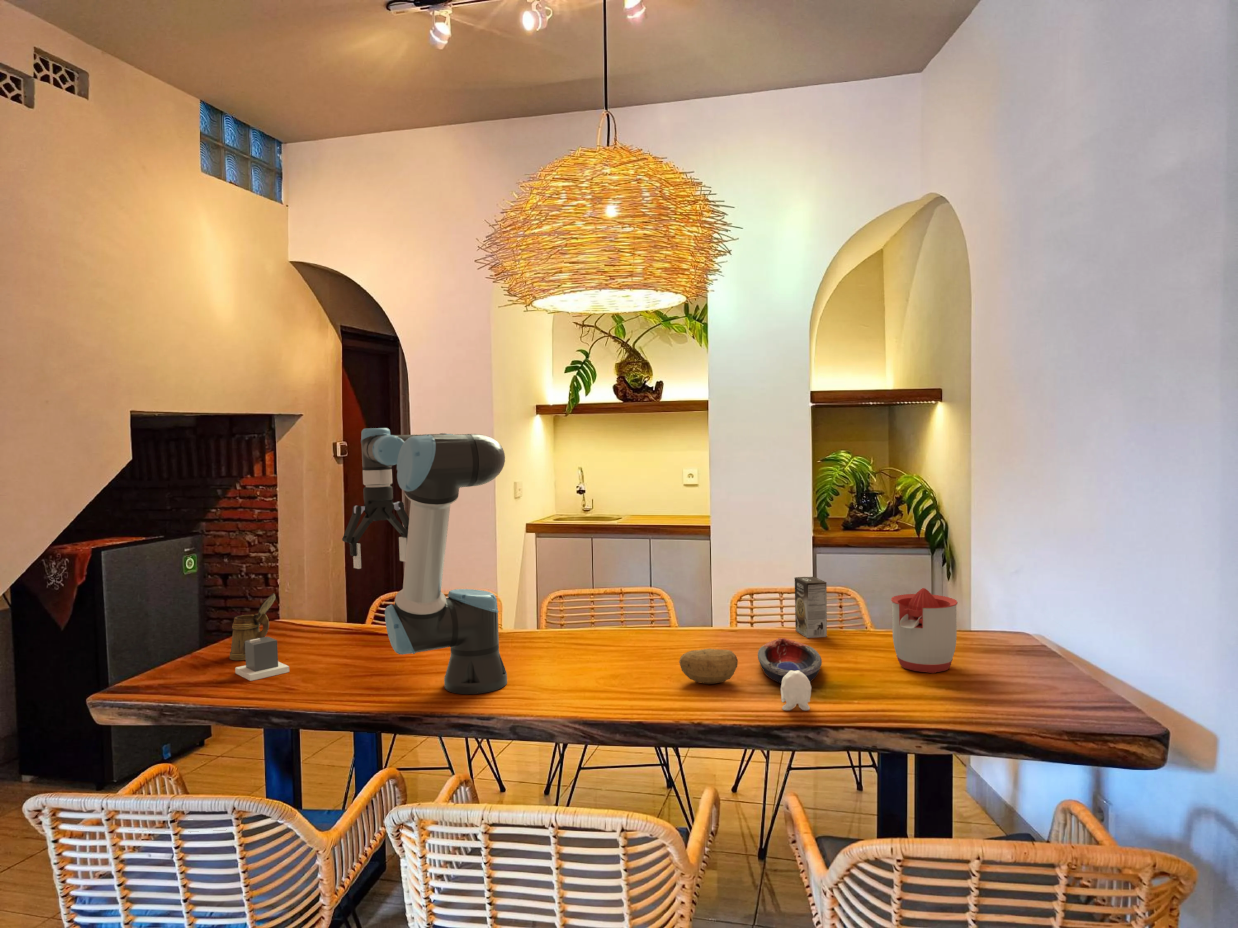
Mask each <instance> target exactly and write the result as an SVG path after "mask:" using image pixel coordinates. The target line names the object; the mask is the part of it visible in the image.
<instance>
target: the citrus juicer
mask: <svg viewBox="0 0 1238 928" xmlns="http://www.w3.org/2000/svg"><path fill="white" fill-rule="evenodd" d="M890 601H891V603H892V604H891V606H892V607H891V609H892V610H891V611H892V613H891V614H892V615H891V616H892V617H891V618H892V626H891V627H892V640H893V647H894V651H895V653H896V659H897V660H898V663H899V666H900V667H902V668H904V669H905V670H906V669H907V670H910V671H914V672H921V673H927V674H936V673H939V672H945V671H948V670H949V669H950V666H951V665H952V662H953V657H954V656H955V655H954V654H955V652H956V645H957V634H958V633H957V627H958V626H957V605H958V601H957V600H956V598H952V597H949V596H944V595H940V594H932V593H931V592H930V591H929V590H928V589H927V588H926V587H923V588H922V587H921V588H920V590H918V591H917V592H916V593H906V594H905V593H903V594H898V595H895V596H892V597H891V599H890Z"/></svg>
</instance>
